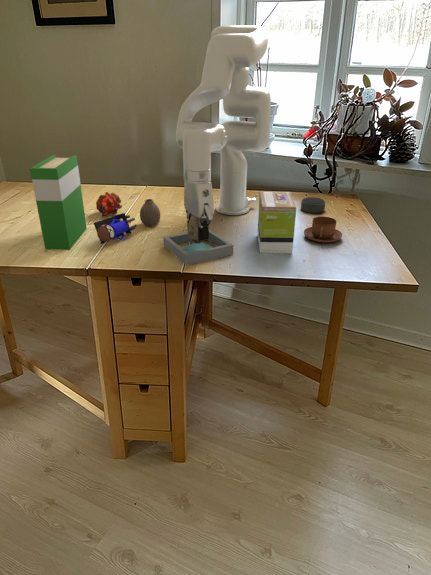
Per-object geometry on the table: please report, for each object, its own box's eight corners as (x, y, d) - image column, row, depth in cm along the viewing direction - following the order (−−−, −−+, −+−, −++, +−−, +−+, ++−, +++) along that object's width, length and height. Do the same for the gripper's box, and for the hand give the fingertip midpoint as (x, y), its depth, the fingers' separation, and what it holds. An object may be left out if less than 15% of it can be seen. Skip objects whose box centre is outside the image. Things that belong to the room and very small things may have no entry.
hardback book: (64, 228, 146) (52, 154, 135) (86, 228, 146) (76, 155, 135) (45, 249, 131) (29, 168, 120) (69, 249, 131) (56, 168, 119)
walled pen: (207, 237, 141) (207, 228, 139) (233, 254, 129) (233, 244, 128) (163, 246, 134) (163, 237, 133) (186, 265, 122) (186, 255, 121)
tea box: (256, 234, 143) (259, 190, 136) (287, 235, 143) (291, 190, 136) (258, 253, 130) (262, 205, 123) (292, 254, 130) (297, 206, 123)
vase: (157, 229, 147) (155, 203, 143) (137, 227, 148) (135, 202, 144) (163, 222, 153) (162, 197, 149) (144, 220, 154) (142, 196, 150)
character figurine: (141, 235, 143) (106, 250, 132) (125, 229, 146) (89, 243, 135) (140, 212, 138) (104, 226, 128) (124, 206, 142) (87, 219, 131)
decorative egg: (203, 247, 127) (203, 215, 122) (184, 244, 129) (183, 212, 124) (210, 240, 132) (211, 208, 127) (192, 237, 134) (192, 206, 129)
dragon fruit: (119, 212, 166) (106, 228, 156) (100, 199, 164) (85, 213, 155) (129, 197, 161) (116, 211, 151) (109, 182, 159) (95, 196, 150)
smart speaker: (322, 215, 161) (324, 204, 159) (298, 212, 164) (299, 202, 162) (325, 208, 169) (327, 198, 167) (302, 205, 171) (303, 195, 169)
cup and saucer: (345, 246, 136) (348, 227, 133) (306, 245, 136) (308, 226, 133) (336, 232, 147) (339, 214, 144) (300, 231, 147) (302, 213, 144)
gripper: (225, 180, 116) (223, 243, 125) (194, 166, 129) (195, 224, 138) (200, 184, 113) (200, 248, 121) (171, 169, 126) (174, 228, 134)
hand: (198, 235), depth 129 cm, fingers closed on decorative egg, 6 cm apart
